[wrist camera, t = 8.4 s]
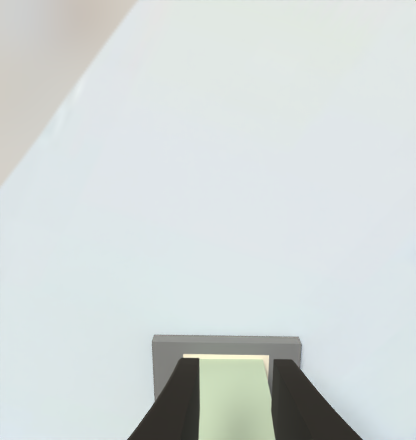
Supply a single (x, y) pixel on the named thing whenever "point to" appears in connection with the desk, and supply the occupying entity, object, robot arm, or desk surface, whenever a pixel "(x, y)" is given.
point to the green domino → (234, 400)
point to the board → (219, 352)
